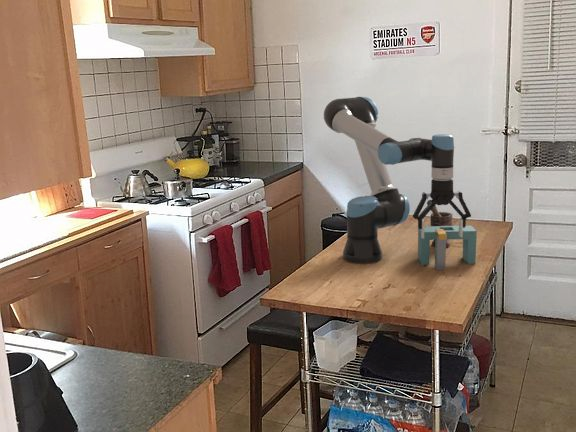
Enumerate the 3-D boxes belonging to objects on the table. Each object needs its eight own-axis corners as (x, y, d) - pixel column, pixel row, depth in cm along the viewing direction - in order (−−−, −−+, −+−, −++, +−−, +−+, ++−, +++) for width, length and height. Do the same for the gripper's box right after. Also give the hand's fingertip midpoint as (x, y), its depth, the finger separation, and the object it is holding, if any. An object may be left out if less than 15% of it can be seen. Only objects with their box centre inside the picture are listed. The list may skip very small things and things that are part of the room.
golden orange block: (437, 271, 239) (438, 234, 235) (433, 265, 245) (434, 229, 242) (446, 271, 239) (447, 233, 235) (442, 265, 245) (443, 229, 242)
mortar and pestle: (443, 251, 262) (444, 202, 257) (423, 248, 267) (424, 200, 262) (454, 244, 271) (456, 196, 266) (435, 241, 276) (436, 194, 271)
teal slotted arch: (421, 264, 247) (421, 232, 244) (417, 258, 255) (418, 226, 252) (475, 263, 246) (476, 231, 243) (470, 257, 254) (471, 225, 251)
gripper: (408, 181, 231) (408, 240, 235) (480, 179, 230) (479, 238, 235) (405, 178, 238) (405, 235, 243) (475, 175, 237) (474, 233, 242)
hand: (441, 237), depth 239 cm, fingers open, 13 cm apart
